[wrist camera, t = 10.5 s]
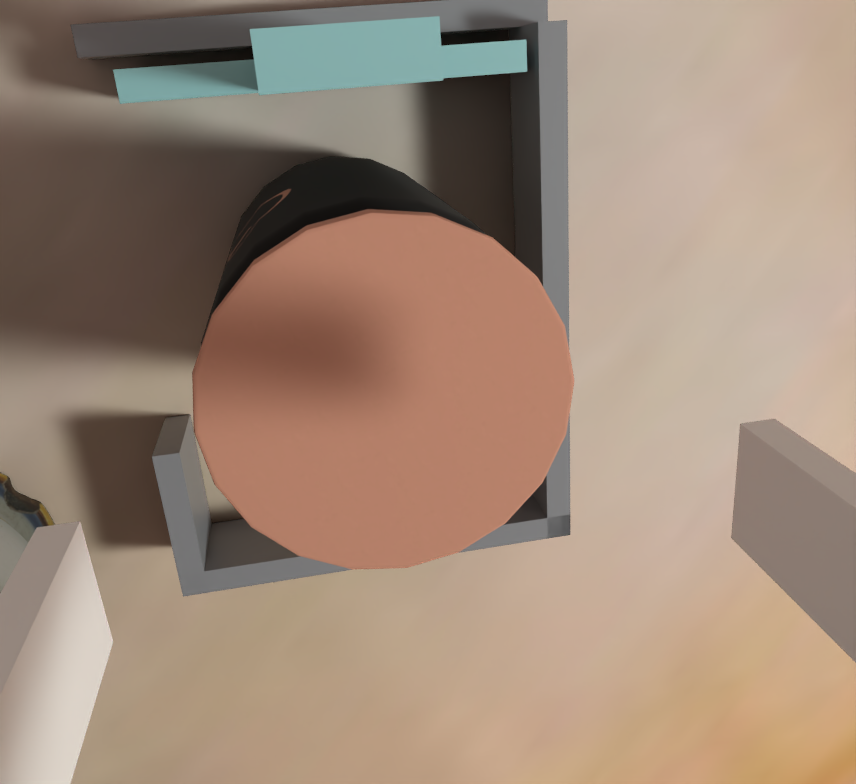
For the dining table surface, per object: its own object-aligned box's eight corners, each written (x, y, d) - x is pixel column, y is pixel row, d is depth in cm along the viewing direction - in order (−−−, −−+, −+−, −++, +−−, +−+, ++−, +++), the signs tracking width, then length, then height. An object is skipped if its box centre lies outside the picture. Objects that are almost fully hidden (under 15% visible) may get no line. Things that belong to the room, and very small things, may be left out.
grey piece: (192, 546, 42) (183, 596, 38) (82, 28, 33) (53, 19, 29) (543, 493, 45) (570, 534, 41) (533, -2, 35) (566, -14, 31)
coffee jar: (250, 128, 35) (222, 166, 19) (475, 182, 38) (625, 256, 21) (214, 352, 39) (164, 551, 22) (424, 387, 41) (519, 589, 25)
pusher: (138, 101, 34) (42, 111, 20) (130, 61, 33) (26, 44, 20) (500, 73, 36) (633, 65, 22) (499, 34, 35) (635, 2, 22)
